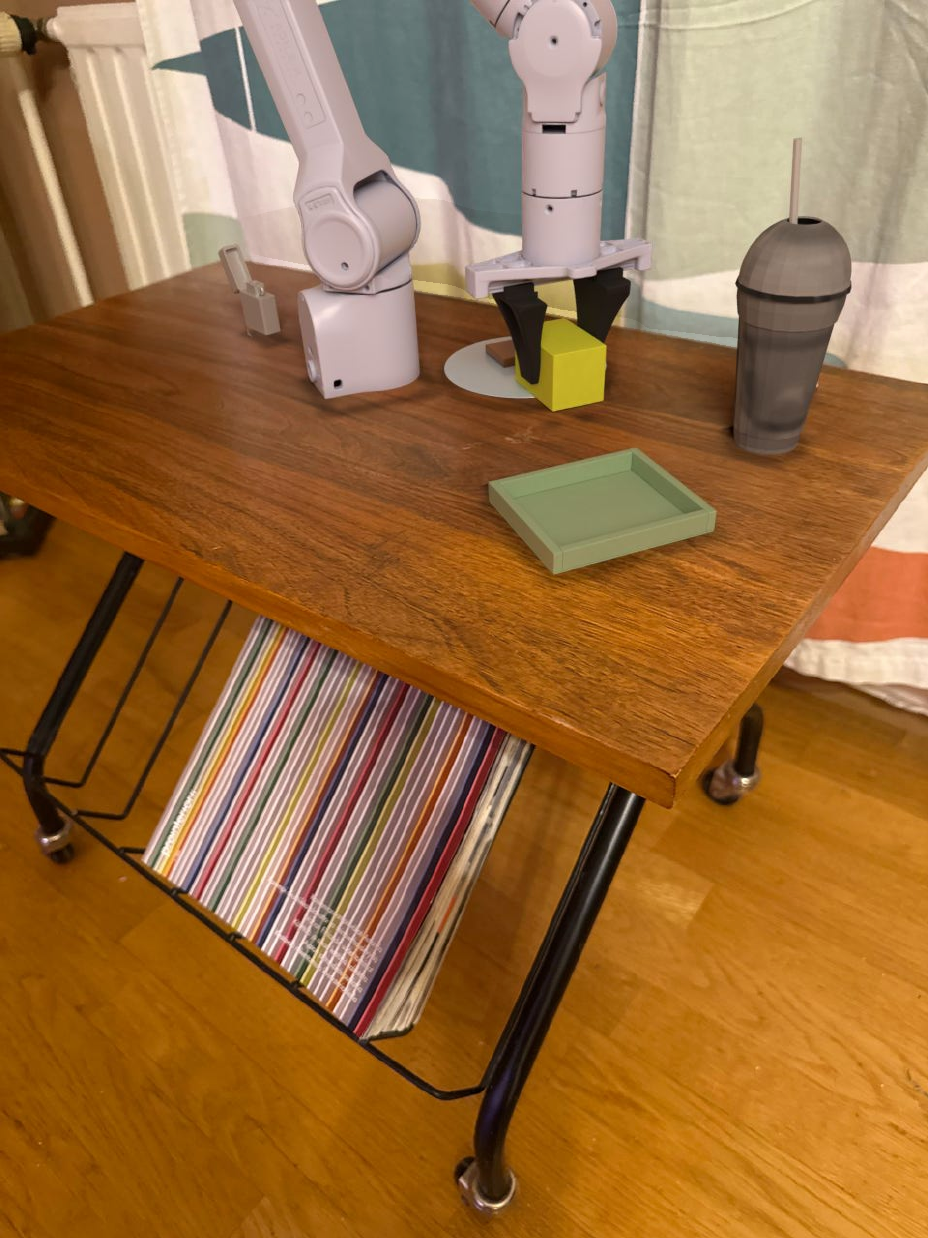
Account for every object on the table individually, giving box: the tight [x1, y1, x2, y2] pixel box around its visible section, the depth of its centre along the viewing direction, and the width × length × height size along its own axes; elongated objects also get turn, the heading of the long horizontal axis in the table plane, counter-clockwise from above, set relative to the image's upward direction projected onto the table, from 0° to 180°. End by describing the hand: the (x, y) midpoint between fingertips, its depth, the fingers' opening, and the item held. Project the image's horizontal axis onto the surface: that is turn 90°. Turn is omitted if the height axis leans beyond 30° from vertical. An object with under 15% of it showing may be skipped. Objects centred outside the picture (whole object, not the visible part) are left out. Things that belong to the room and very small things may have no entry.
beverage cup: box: [732, 137, 853, 455], centre depth 60 cm, size 7×7×20 cm
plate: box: [443, 335, 608, 399], centre depth 78 cm, size 14×14×1 cm
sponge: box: [515, 317, 608, 412], centre depth 71 cm, size 4×7×4 cm, turn 22°
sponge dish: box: [488, 446, 718, 575], centre depth 58 cm, size 11×10×2 cm
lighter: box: [217, 243, 282, 338], centre depth 87 cm, size 7×2×8 cm, turn 40°
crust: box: [486, 340, 515, 368], centre depth 79 cm, size 4×4×1 cm
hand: (558, 373), depth 72 cm, fingers closed on sponge, 4 cm apart
